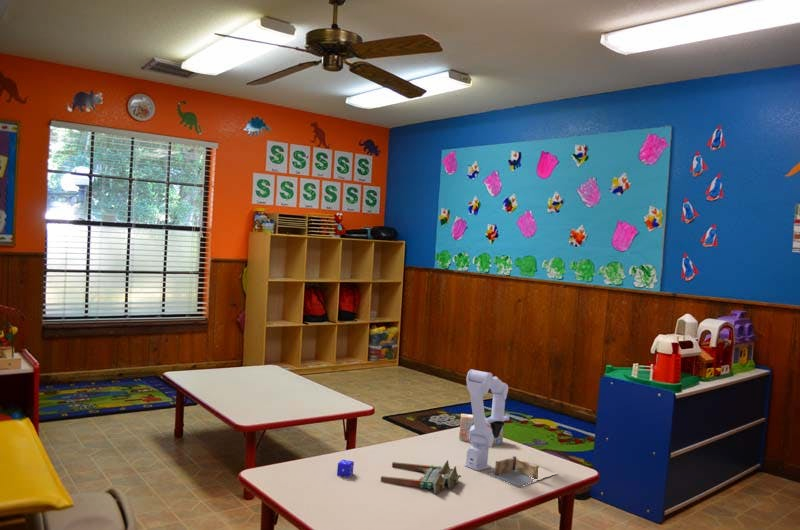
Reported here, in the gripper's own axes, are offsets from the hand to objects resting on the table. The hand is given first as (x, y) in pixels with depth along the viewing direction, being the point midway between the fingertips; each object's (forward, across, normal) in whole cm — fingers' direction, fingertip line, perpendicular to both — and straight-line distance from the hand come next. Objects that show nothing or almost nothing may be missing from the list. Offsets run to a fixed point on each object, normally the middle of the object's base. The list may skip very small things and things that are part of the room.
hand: (495, 437), depth 281 cm
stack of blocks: (+10, +12, +20) cm, 26 cm away
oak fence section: (+9, -6, -24) cm, 26 cm away
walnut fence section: (+9, -12, -17) cm, 22 cm away
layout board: (+9, -5, -21) cm, 24 cm away
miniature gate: (+10, -49, -6) cm, 51 cm away
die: (+10, -74, +13) cm, 76 cm away
